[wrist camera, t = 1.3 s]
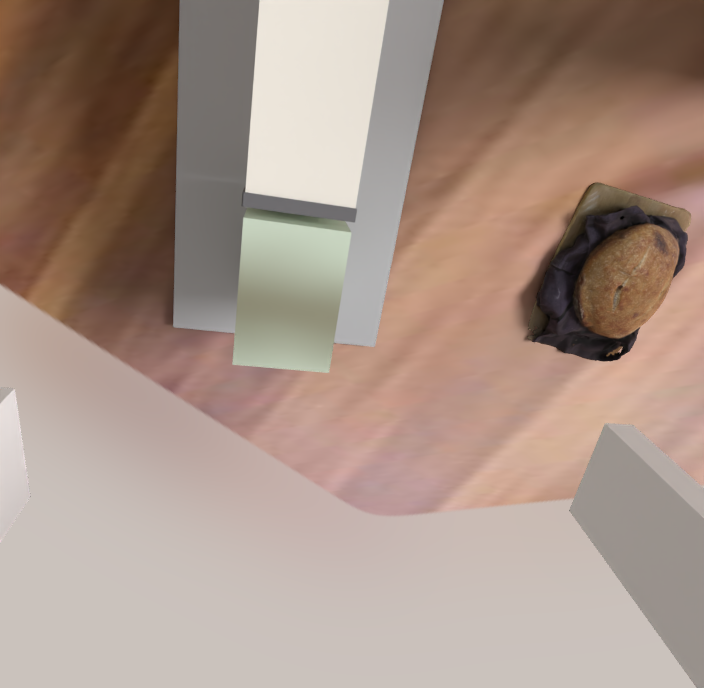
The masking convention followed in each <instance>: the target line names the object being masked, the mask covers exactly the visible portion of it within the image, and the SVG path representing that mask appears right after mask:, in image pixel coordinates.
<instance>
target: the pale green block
mask: <svg viewBox="0 0 704 688" xmlns="http://www.w3.org/2000/svg"><path fill="white" fill-rule="evenodd" d="M351 233H352V232H351V231H350V229H349V227H348V225H347V223H346V222H345V221H340V220H333V219H326V218H319V217H312V216H305V215H298V214H291V213H283V212H276V211H269V210H262V209H255V208H248V207H247V209H246V212H245V215H244V217H243V230H242V243H241V257H240V270H239V284H238V297H237V311H236V324H235V338H234V351H233V365H244V366H255V367H267V368H279V369H290V370H302V371H313V372H325V373H329V369H330V363H331V357H332V351H333V344H334V338H335V332H336V326H337V320H338V314H339V307H340V301H341V295H342V289H343V283H344V277H345V270H346V264H347V258H348V252H349V246H350V240H351Z"/></svg>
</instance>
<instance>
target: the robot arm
mask: <svg viewBox="0 0 704 688" xmlns="http://www.w3.org/2000/svg"><path fill="white" fill-rule="evenodd" d="M29 498H30V490H29V483H28V476H27V469H26V462H25V456H24V448H23V441H22V434H21V427H20V421H19V414H18V407H17V400H16V394H15V388H2V387H0V543H1V541H2V539H3V538H4V536H5V535H6V533H7V532H8V530H9V529H10V527H11V526H12V524H13V523H14V521H15V520H16V518H17V516H18V515H19V514H20V512H21V510H22V509H23V507H24V506H25V504H26V503H27V501H28V500H29ZM569 511H570V512H571V514H572V515H573V516H574V518H575V519H576V521H577V522H578V523H579V525H580V526H581V527H582V529H583V530H584V532H585V533H586V534H587V536H588V537H589V539H590V540H591V541H592V543H593V544H594V546H595V547H596V548H597V550H598V551H599V552H600V554H601V555H602V557H603V558H604V559H605V561H606V562H607V564H608V565H609V566H610V568H611V569H612V571H613V572H614V573H615V575H616V576H617V578H618V579H619V580H620V582H621V583H622V584H623V586H624V587H625V589H626V590H627V591H628V593H629V594H630V596H631V597H632V598H633V600H634V601H635V602H636V604H637V605H638V606H639V608H640V610H641V611H642V612H643V614H644V615H645V616H646V618H647V619H648V621H649V622H650V623H651V625H652V626H653V627H654V629H655V630H656V632H657V633H658V634H659V636H660V637H661V639H662V640H663V641H664V643H665V644H666V646H667V647H668V648H669V650H670V651H671V653H672V654H673V655H674V657H675V658H676V660H677V661H678V662H679V664H680V665H681V666H682V668H683V669H684V671H685V672H686V673H687V675H688V676H689V678H690V679H691V680H692V682H693V683H694V685H695V686H696V687H697V688H704V488H703V487H702V486H701V485H700V484H698V483H697V482H696V481H695V480H694V479H693V478H692V477H691V476H690V475H688V474H687V473H686V472H685V471H684V470H683V469H682V468H681V467H679V466H678V465H677V464H676V463H675V462H674V461H673V460H672V459H671V458H669V457H668V456H667V455H666V454H665V453H664V452H663V451H662V450H660V449H659V448H658V447H657V446H656V445H655V444H654V443H653V442H651V441H650V440H649V439H648V438H647V437H646V436H645V435H644V434H643V433H641V432H640V431H639V430H638V429H637V428H636V427H635V426H634V425H627V424H610V423H605V425H604V427H603V430H602V432H601V434H600V437H599V439H598V442H597V444H596V447H595V449H594V451H593V454H592V456H591V459H590V461H589V463H588V466H587V468H586V471H585V473H584V476H583V478H582V480H581V483H580V485H579V488H578V490H577V493H576V495H575V497H574V500H573V502H572V505H571V507H570V510H569Z"/></svg>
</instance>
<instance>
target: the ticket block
mask: <svg viewBox="0 0 704 688" xmlns="http://www.w3.org/2000/svg"><path fill="white" fill-rule="evenodd" d="M443 2H444V0H180V13H179V64H178V114H177V164H176V214H175V264H174V314H173V327H176V328H187V329H197V330H207V331H217V332H228V333H235V324H236V311H237V297H238V284H239V270H240V257H241V243H242V230H243V217H244V215H245V212H246V209H247V207H248V208H255V209H262V210H269V211H276V212H283V213H291V214H298V215H305V216H312V217H319V218H326V219H333V220H340V221H345V222H346V223H347V225H348V227H349V229H350V231H351V232H352V233H351V240H350V246H349V252H348V258H347V264H346V270H345V277H344V283H343V289H342V295H341V301H340V307H339V314H338V320H337V326H336V332H335V338H334V343H340V344H351V345H361V346H371V347H375V343H376V338H377V333H378V328H379V323H380V318H381V313H382V308H383V303H384V298H385V293H386V288H387V283H388V278H389V273H390V268H391V263H392V258H393V253H394V248H395V243H396V238H397V233H398V228H399V223H400V218H401V213H402V208H403V203H404V198H405V192H406V187H407V182H408V177H409V172H410V167H411V162H412V157H413V152H414V147H415V142H416V137H417V132H418V127H419V122H420V117H421V112H422V107H423V102H424V97H425V92H426V87H427V82H428V77H429V72H430V67H431V62H432V57H433V52H434V47H435V42H436V37H437V32H438V27H439V22H440V17H441V12H442V7H443Z"/></svg>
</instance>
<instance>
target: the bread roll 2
mask: <svg viewBox="0 0 704 688" xmlns="http://www.w3.org/2000/svg"><path fill="white" fill-rule="evenodd" d="M690 222H691V214H690V213H689V212H688V211H687V210H685V209H682V208H676V207H673V206H670V205H668V204H665V203H661V202H658V201H655V200H652V199H650V198H646V197H643V196H639V195H637V194H633V193H630V192H627V191H624V190H621V189H618V188H615V187H611V186H608V185H605V184H602V183H593V184H592V185H590V186H589V188H588V190H587V191H586V193H585V195H584V197H583V198H582V200H581V202H580V204H579V206H578V208H577V210H576V212H575V214H574V216H573V218H572V220H571V222H570V224H569V226H568V228H567V230H566V232H565V234H564V236H563V238H562V240H561V242H560V244H559V246H558V248H557V250H556V253H555V255H554V257H553V259H552V261H551V263H550V265H549V268H548V270H547V272H546V275H545V278H544V281H543V284H542V286H541V289H540V291H539V292H538V294H537V297H536V298H537V299H536V302H535V305H534V308H533V311H532V315H531V319H530V322H529V325H528V326H529V328H528V330H529V329H531V331H532V330H534V328H535V326H537V328H538V329H536V330H534V331H533V333H534V335H532V336H529V337H528V339H530V340H532V342H538V343H541V344H546V345H551V346H553V347H556V348H558V349H559V350H561V351H562V352H564V353H568V354H575V355H577V356H580V357H583V358H586V359H591V360H595V361H596V360H599V361H613V360H618V359H620V358H621V356H622V355H624V354H626V353H627V352H629V351H630V349H631V348H632V346H633V344H634V342H635V341H636V338H637V334H638V330H639V329H640V327H641V326H642V325H643V324H644V323H645V322H647V321H648V320H649V318H650V317H651V316H652V315H653V314H654V313H655V312H656V310H657V309H658V308H659V307H660V305H661V304H662V302H663V301H664V299H665V297H666V295H667V293H668V290H669V287H670V285H671V281H672V279H673V278H674V277H675V276H676V275H677V273H678V272H679V271H680V270H681V269H682V268H683V266H684V263H685V256H686V244H687V241H688V235H687V233H686V232H685V231H686V230H687V228H688V226H689V225H690ZM622 346H623V348H622ZM621 348H622V350H621V353H620V352H618V351H619V350H620V349H621ZM619 353H620V354H619Z"/></svg>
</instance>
